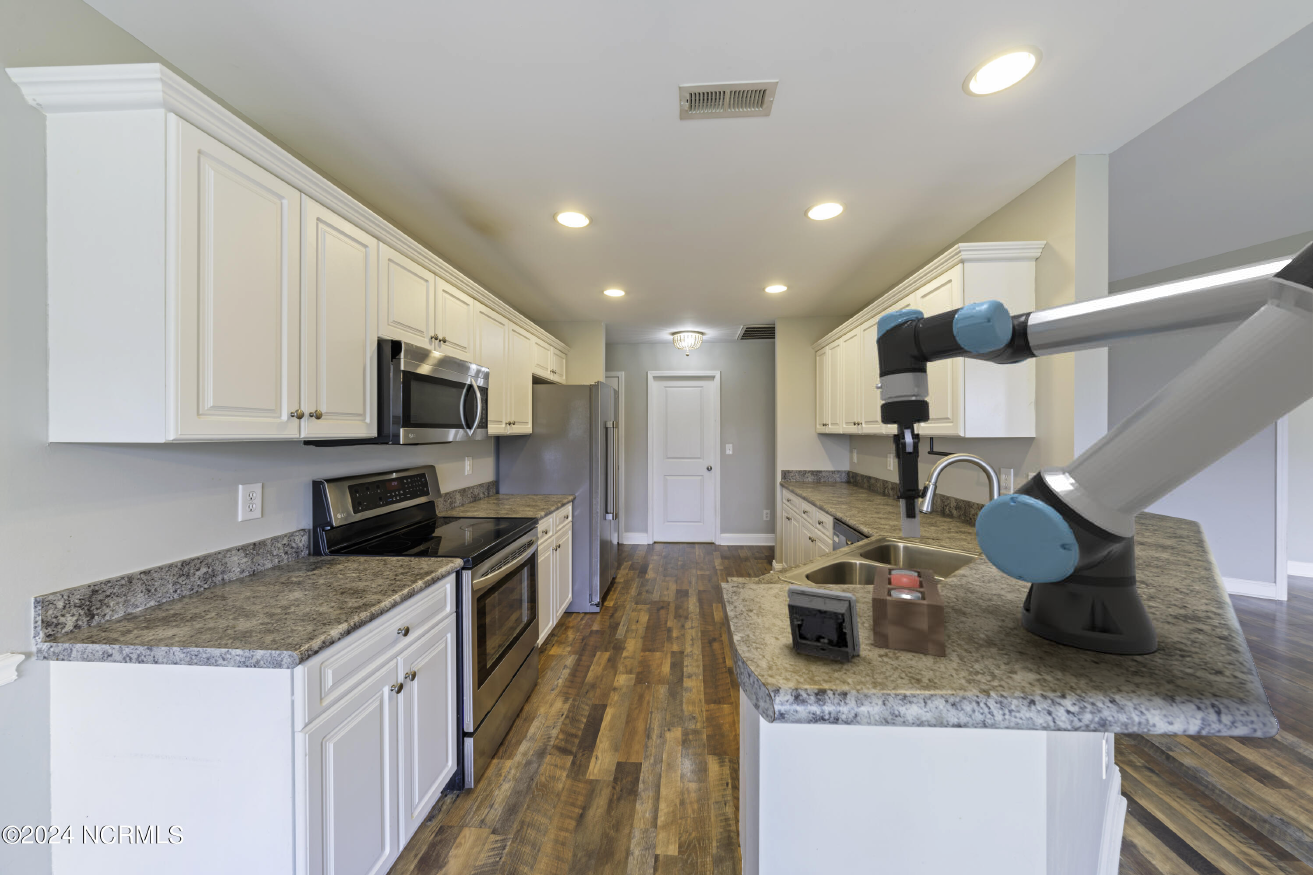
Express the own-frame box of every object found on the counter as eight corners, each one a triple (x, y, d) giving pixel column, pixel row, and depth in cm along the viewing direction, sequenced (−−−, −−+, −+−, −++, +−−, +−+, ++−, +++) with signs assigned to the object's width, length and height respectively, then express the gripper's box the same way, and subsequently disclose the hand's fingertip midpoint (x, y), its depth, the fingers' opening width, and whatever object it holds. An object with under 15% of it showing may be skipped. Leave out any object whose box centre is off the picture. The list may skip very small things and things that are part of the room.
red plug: (919, 611, 77) (918, 574, 77) (921, 619, 73) (919, 581, 73) (892, 608, 78) (891, 572, 79) (892, 616, 75) (891, 578, 75)
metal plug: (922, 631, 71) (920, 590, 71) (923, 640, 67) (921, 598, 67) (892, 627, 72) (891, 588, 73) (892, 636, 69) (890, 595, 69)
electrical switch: (861, 654, 66) (858, 589, 65) (855, 672, 61) (851, 603, 61) (795, 640, 71) (791, 580, 70) (784, 657, 66) (780, 593, 66)
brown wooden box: (934, 609, 83) (932, 570, 83) (945, 656, 64) (943, 605, 64) (877, 603, 87) (876, 565, 87) (873, 645, 68) (871, 597, 68)
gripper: (879, 405, 89) (885, 530, 88) (881, 398, 77) (888, 542, 76) (924, 403, 86) (931, 531, 85) (933, 394, 74) (942, 544, 73)
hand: (911, 536), depth 81 cm, fingers closed
